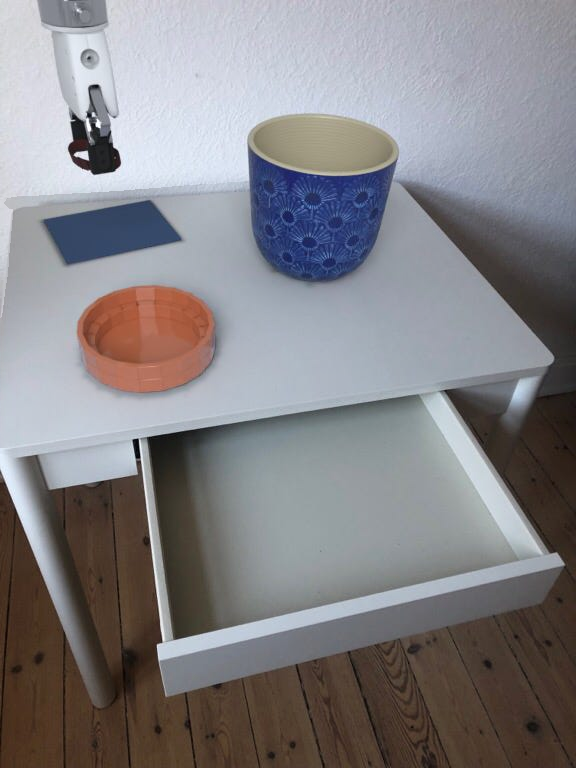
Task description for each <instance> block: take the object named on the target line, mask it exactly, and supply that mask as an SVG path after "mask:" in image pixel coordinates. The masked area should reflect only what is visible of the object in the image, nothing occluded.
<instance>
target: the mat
mask: <svg viewBox="0 0 576 768" xmlns="http://www.w3.org/2000/svg"><path fill="white" fill-rule="evenodd" d="M43 223H44V225H45V226H46V228H47V230H48V232H49V234H50V235H51V238H52V239H53V241H54V243H55V245H56V246H57V248H58V250H59V252H60V254H61V256H62V258H63V260H64V261H65V263H66V265H70V264H76V263H81V262H85V261H90V260H94V259H99V258H104V257H108V256H114V255H118V254H122V253H127V252H131V251H136V250H137V251H138V250H141V249H147V248H150V247H155V246H160V245H164V244H169V243H173V242H178V241H179V242H180V241H181V240H182V238H181V237H180V235H179V234H178V233H177V232H176V230H175V229H174V228H173V226H172V225H171V224H170V222H168V220H167V219H166V218H165V217H164V215H163V214H162V213H161V212H160V211H159V209H158V208H157V207H156V206H155V204H154V203H153V202H152V200H151V199H147V200H142V201H137V202H131V203H126V204H120V205H115V206H108V207H103V208H99V209H93V210H88V211H83V212H77V213H71V214H66V215H61V216H60V215H59V216H55V217H50V218H44V219H43Z"/></svg>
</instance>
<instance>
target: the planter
mask: <svg viewBox="0 0 576 768" xmlns="http://www.w3.org/2000/svg"><path fill="white" fill-rule="evenodd" d="M246 141H247V162H248V177H249V178H248V181H249V183H248V184H249V200H250V201H249V202H250V219H251V228H252V233H253V238H254V241H255V243H256V247H257V248H258V250H259V253H260V254H261V256H262V257H263V258H264V259H265V261H266V262H268V263H269V265H270V266H271V267H272V268H274V269H275V270H276V271H278V272H279V273H282V274H284V275H286V276H287V277H291V278H292V279H293V278H294V279H297V280H301V281H307V282H327V281H332V280H337V279H340V278H343V277H345V276H347V275H349V274H351V273H353V272H354V271H356V270H357V269H358V268H359V267H360V266H362V265H363V263H364V262H365V261H366V260H367V258H368V257H369V256H370V254H371V253H372V250H373V249H374V246H375V244H376V242H377V239H378V237H379V233H380V230H381V225H382V223H383V218H384V213H385V210H386V206H387V202H388V200H389V194H390V191H391V186H392V183H393V179H394V174H395V171H396V167H397V164H398V160H399V155H400V147H399V145H398V143H397V141H396V140H395V138H393V136H392V135H390V134H389V133H387V132H386V131H385V130H383V129H381V128H380V127H378V126H376V125H374V124H371V123H369V122H366V121H363V120H359V119H355V118H352V117H347V116H341V115H335V114H327V113H311V112H309V113H292V114H285V115H279V116H275V117H271V118H269V119H266V120H264V121H261V122H259V123H257V124H256V125H255V126H254V127H253V128H252V129H251V130H250V131H249V132H248V134H247V139H246Z"/></svg>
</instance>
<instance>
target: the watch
mask: <svg viewBox="0 0 576 768" xmlns="http://www.w3.org/2000/svg"><path fill="white" fill-rule="evenodd" d="M86 143H89V140H86V139H79V140H75V141H73V140H72V141H71V142H70V143H69V144H68V145H67V152H68V154H69V156H70V159H71V161H72V163H74V165H75V166H77V167H78V168H80V169H81V170H85V171H88V172H89V171H91V170H90V164H89V159H85V158H83V157H80V156H76V155H75V154H77V153H79V152H78V151H81V150H87V144H86ZM113 148H114V156H115V164H116V170H118V169H119V168H120V167H121V165H122V159H121V156H120V151H119V150H118V149H117V148H116V147H114V146H113Z"/></svg>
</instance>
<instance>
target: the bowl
mask: <svg viewBox="0 0 576 768" xmlns="http://www.w3.org/2000/svg"><path fill="white" fill-rule="evenodd" d="M215 326H216V325H215V320H214V313H213V312H212V310H211V309H210V308H209V306H208V305H207V304H206V302H205V301H204V300H203V299H201V298H199V297H198V296H196V295H195V294H193V293H191V292H189V291H186V290H182V289H181V288H180V289H179V288H177V287H174V286H166V285H158V284H149V285H135V286H129V287H126V288H122V289H116V290H114V291H111V292H109V293H107V294H105V295H103V296H101V297H98V298H97V299H96V300H95V301H93V302H92V303H91V304H89V305H88V306H87V307H86V308H85V309H84V310H83V312H82V314H81V316H80V317H79V319H78V320H77V325H76V338H77V342H78V347H79V353H80V358H81V361H82V363H83V365H84V366H85V367H84V368H86V370H87V372H88V373H89V374H90V375H91V376H92V377H94V378H95V379H96V380H97V381H98V382H100V383H101V384H103V385H106V386H109V387H111V388H114V389H116V390H120V391H127V392H134V393H150V392H151V393H152V392H162V391H166V390H169V389H172V388H176V387H179V386H182V385H185V384H186V383H188V382H190V381H191V380H193V379H195V378H197V377H198V376H200V375H201V374H202V373H203V372H204V371H205V369H206V368H208V366H209V365H210V364H211V363H212V360H213V356H214V354H215V350H216V331H215V330H216V327H215Z"/></svg>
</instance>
